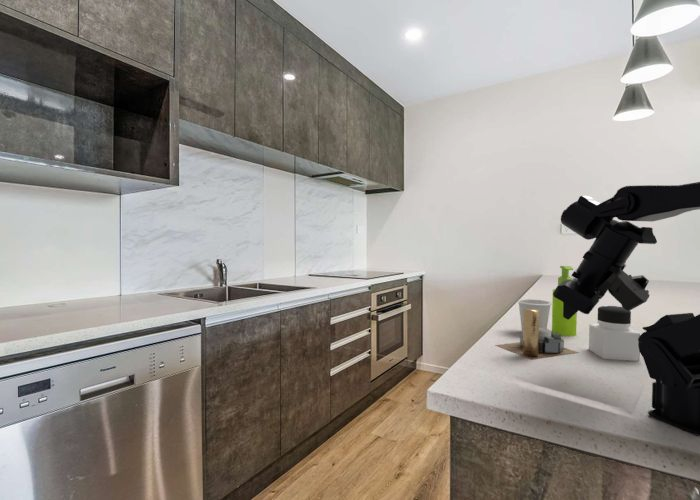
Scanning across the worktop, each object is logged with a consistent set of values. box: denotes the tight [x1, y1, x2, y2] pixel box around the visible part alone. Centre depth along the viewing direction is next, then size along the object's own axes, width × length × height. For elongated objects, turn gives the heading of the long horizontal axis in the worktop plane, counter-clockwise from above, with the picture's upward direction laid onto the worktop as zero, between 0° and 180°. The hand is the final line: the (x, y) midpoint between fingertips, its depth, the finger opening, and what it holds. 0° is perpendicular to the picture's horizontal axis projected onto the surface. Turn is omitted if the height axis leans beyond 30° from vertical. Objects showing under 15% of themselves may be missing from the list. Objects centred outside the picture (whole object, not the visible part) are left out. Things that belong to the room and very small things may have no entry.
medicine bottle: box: [588, 305, 641, 362], centre depth 80 cm, size 7×7×12 cm
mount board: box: [495, 328, 580, 361], centre depth 84 cm, size 11×14×5 cm
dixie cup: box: [517, 298, 552, 333], centre depth 98 cm, size 8×8×10 cm
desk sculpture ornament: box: [519, 309, 565, 356], centre depth 83 cm, size 9×14×10 cm, turn 135°
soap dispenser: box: [551, 265, 578, 337], centre depth 98 cm, size 6×7×20 cm
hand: (566, 317), depth 71 cm, fingers closed
